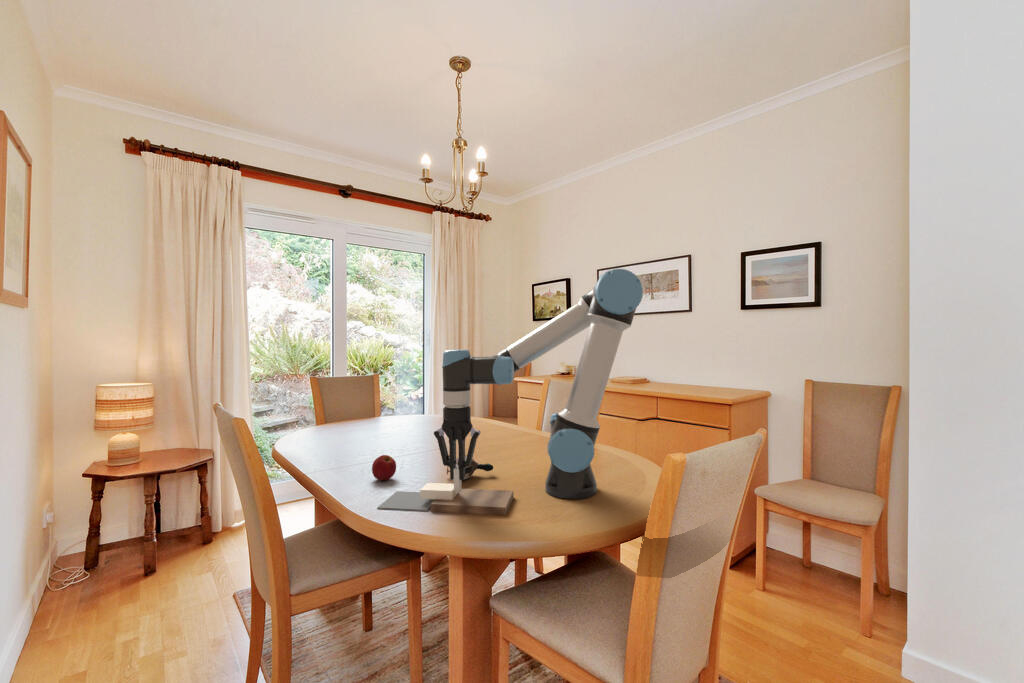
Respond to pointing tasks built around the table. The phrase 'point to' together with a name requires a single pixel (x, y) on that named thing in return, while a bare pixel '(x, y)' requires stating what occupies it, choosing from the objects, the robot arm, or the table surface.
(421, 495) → the tile
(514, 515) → the table surface
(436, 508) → the brown wooden board
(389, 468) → the apple
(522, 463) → the table surface
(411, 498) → the mat
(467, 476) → the decorative duck model
